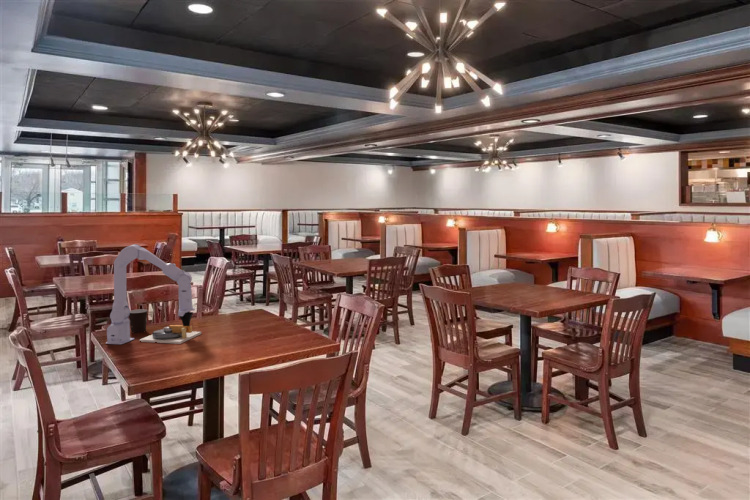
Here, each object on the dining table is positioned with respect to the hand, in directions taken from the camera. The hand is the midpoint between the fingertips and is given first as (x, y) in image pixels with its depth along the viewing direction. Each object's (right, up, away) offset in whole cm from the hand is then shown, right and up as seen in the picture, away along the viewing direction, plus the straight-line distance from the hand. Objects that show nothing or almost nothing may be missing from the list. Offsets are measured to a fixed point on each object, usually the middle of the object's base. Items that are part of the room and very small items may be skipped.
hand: (186, 328), depth 244 cm
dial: (-6, -3, 0) cm, 7 cm away
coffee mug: (-28, -3, +14) cm, 31 cm away
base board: (-7, -4, +1) cm, 9 cm away
